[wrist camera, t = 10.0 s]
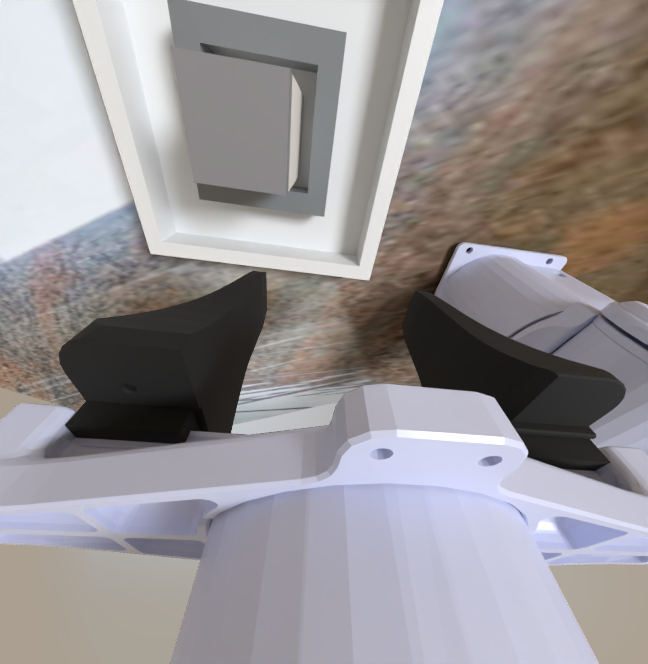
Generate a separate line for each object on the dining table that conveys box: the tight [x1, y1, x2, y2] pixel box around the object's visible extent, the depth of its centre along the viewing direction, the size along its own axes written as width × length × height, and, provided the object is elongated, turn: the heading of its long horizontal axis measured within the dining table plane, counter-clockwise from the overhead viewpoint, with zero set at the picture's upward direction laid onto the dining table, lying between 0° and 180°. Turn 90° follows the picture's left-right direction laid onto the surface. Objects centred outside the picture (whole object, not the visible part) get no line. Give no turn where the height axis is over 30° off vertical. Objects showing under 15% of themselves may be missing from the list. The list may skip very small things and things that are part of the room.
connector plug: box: [171, 46, 303, 196], centre depth 12 cm, size 4×4×7 cm
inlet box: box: [72, 0, 444, 280], centre depth 15 cm, size 16×16×3 cm
